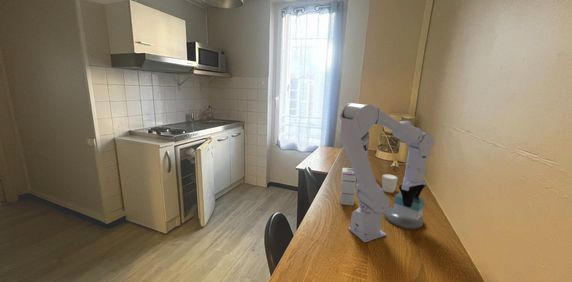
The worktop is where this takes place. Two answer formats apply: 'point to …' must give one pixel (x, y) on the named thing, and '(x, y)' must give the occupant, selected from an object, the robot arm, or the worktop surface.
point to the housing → (413, 211)
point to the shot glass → (389, 182)
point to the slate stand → (402, 219)
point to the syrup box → (347, 186)
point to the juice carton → (365, 143)
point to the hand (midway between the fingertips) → (410, 203)
